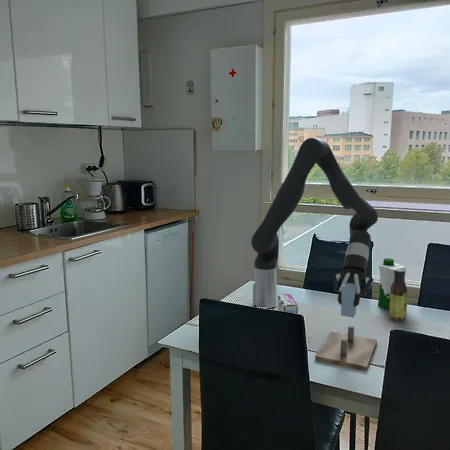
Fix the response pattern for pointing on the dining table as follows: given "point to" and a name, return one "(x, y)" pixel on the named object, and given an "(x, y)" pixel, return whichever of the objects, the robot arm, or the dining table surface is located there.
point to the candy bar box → (287, 304)
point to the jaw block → (348, 300)
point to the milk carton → (387, 281)
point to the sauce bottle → (398, 297)
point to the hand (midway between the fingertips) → (347, 304)
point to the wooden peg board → (347, 350)
